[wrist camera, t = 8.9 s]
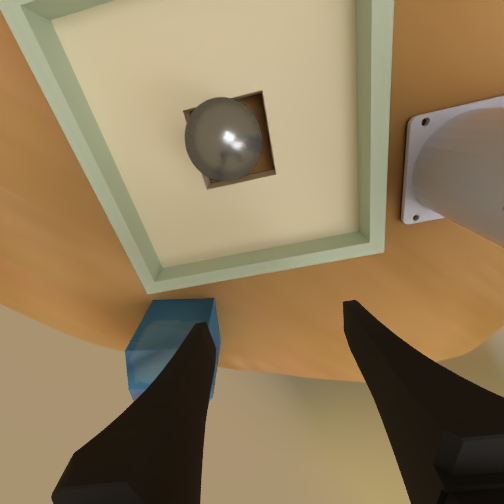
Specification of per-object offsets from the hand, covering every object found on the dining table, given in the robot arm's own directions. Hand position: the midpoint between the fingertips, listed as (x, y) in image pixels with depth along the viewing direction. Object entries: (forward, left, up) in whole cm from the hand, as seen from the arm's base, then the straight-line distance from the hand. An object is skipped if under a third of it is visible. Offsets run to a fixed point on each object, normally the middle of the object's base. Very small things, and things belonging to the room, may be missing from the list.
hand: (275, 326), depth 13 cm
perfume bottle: (+10, +7, -10) cm, 16 cm away
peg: (+1, -9, -10) cm, 13 cm away
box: (+1, -9, -10) cm, 13 cm away
